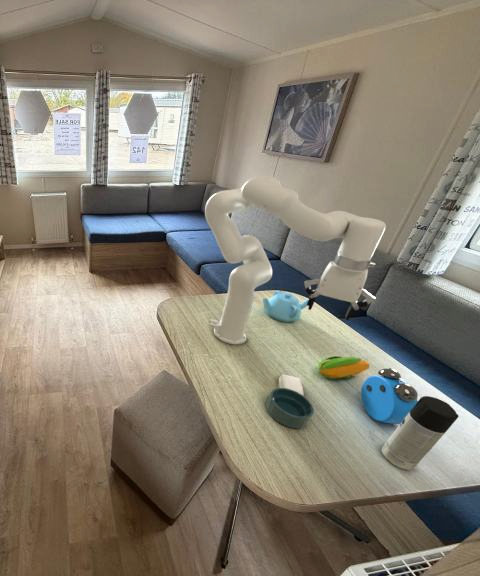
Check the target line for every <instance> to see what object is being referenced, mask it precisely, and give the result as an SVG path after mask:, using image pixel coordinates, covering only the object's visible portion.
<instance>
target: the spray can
mask: <svg viewBox="0 0 480 576" xmlns="http://www.w3.org/2000/svg"><path fill="white" fill-rule="evenodd" d="M417 401H418V402H417V403H416V404H415V406H414V407H413V408H412V409H411V410H410V412H409V413H408V415H407V416H406V417H405V418H404V420H403V421H402V422H401V424H398V426H397V427H396V429H395V430H394V432H393V433H392V434H391V436H390V437H389V438H388V440H387V441H386V442H385V443H384V444H383V446H382V448H381V454H382V455H383V457H384V458H385V460H386V461H388V462H389V463H390V464H392V465H393V466H395V467H397V468H399V469H401V470H406V471H411V470H413V469H414V468H416V466H417V465H419V464H420V462H421V461H422V460H423V459H424V458H425V457H426V455H427V454H428V453H429V452H430V451H431V450H432V449H433V447H434V446H435V445H437V443H438V442H439V440H440V439H441V438H442V437H443V436H444V435H445V434H446V433H447V431H448V430H450V428H451V427H452V426H453V424H454V423H455V422H456V421H457V419H458V418H459V414H458V413H457V412H456V410H455V409H454V408H453V407H452V406H451V405H450V404H449V403H447V402H446V401H444V400H442V399H439V398H437V397H434V396H428V395H424V396H422V397H420V398H419V399H418V400H417Z"/></svg>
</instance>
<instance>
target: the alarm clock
mask: <svg viewBox="0 0 480 576" xmlns="http://www.w3.org/2000/svg"><path fill="white" fill-rule="evenodd" d="M360 391H361V392H360V395H361V396H360V397H361V402H362V405H363V408H364V410H365V412H366V413H367V414H368V416H370V418H372V419H373V420H375V421H377V422H380V423H387V424H391V426H394V425H400V424H401V422H402V421H403V420H404V418H405V417H406V416H407V415H408V413H409V412H410V410H411V409H412V408H413V407H414V406H415V404H416V403H417V402H418V401H419V400H418V397H419V395H418V391H417V389H415V387H414V386H412V385H411V384H409V383H408V382H407V381H405V380H404V379H402V375H401V374H400V373H399V372H398V371H397V370H395V369H392V368H391V367H389V368H381V369H379V371H377V374H375V375H370V376H369V377H367V378H366V379H365V380H364V381H363V383H362V386H361V389H360Z"/></svg>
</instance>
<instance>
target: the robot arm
mask: <svg viewBox="0 0 480 576" xmlns="http://www.w3.org/2000/svg"><path fill="white" fill-rule="evenodd" d="M254 207H257V208H260V209H262V210H264V211H266V212H268V213H269V214H272V215H273V216H275V217H277V218H279V219H280V221H281V222H282V223H283V224H284V225H285V226H286V227H287V228H289V229H291V230H292V231H294V232H296V233H298V234H299V235H301V236H303V237H306V238H308V239H310V240H313V241H317V242H328V241H332V240H334V239H338V238H339V239H340V238H342V241H341V244H340V245H339V248H338V250H337V253H336V255H335V257H334V260H331V261H329V263H328V264H327V266H326V267H325V269H324V271H323V273H322V275H321V276H320V278H315V279H314V278H313V279H308V280H305V281H304V282H303V284H304V289H305V292H306V293H307V295H308V296H309V298H308V303H307V306H306V307H307V310H309V311H311V310H312V309H313V306H314V304H315V302H316V298H317V297H319V296H323V297H328V298H331V299H335V300H339V301H344V302H347V303H350V305H349V306H348V308H347V310H346V313H345V315H344V316H345V317H344V318H345V320H346V321H349V320H350V318H353V317H354V315H355V313H356V312H357V311H358V310H360V309H361V308H365V307H368V305H371V304H372V303H374V302H375V301H376V297H375V296H374V295H372V294H371V293H370V292H368V291H367V290H366V289H364V287H365V284H366V281H367V278H368V273H369V269H368V268H375V267H376V262H373V261H372V257H373V256H374V253H375V251H376V249H377V247H378V246H379V243H380V241H381V239H382V236H383V235H384V232H385V230H386V227H387V225H386V223H385V221H383V220H380V219H377V218H372V217H363V216H359V215H356V214H353V213H350V212H348V211H344V210H334V211H330V212H325V213H323V212H320V211H318V210H316V209H313V208H311V207H309V206H307V205H305V204H303V202H301V201H300V198H299V194H298V192H297V191H295V190H292V189H291V188H287V187H286V186H283V185H282V183H281V181H280V180H279V179H278V178H277V177H275V176H272V175H267V176H266V175H264V176H256V177H252V178H250V179H248V180H247V181H245V183H243V185H242V187H240V188H235V189H227V190H222V191H218V192H216V193H214V194H212V195H211V196H210V197H209V198H208V200H207V201H206V204H205V208H204V217H205V220H206V222H207V225H208V227H209V228H210V230H211V232H212V234H213V236H214V239H215V241H216V243H217V245H218V248H219V249H220V253H221V255H222V257H223V259H224V260H225V261H226V263H228V264H238V263H241V262H242V263H243V264H241V265H239V266H237V267H235V268H234V269H233V270H232V271H231V272H230V274H229V277H228V289H227V294H226V297H225V302H224V306H223V310H222V314H221V318H220V320H215V319H214V318H213V319H212V318H209V320H208V324H210V325H209V327H212V328H213V334H214V336H215V337H216V338H217V339H218V340H220V341H221V342H224V343H225V344H229V345H242V344H244V343H245V342H246V341H247V338H248V337H247V334H246V333H245V330H246V327H247V323H248V321H249V317H250V315H251V310H252V307H253V305H254V299H255V289H256V288H257V287H259V286H262V285H264V284H266V283H268V282H269V281H270V280H271V279H272V277H273V268H272V265H271V262H270V261H269V258H268V256H267V253H266V251H265V250H264V247H263V245H262V243H261V241H260V240H259V239H258V238H257V237H256V236H254V235H252V234H244V235H242V234H241V231H239V229H238V226H237V224H236V222H235V221H234V220H233V219H232V218H231V217H230V216H229V214H233V213H238V212H243V211H245V210H249V209H251V208H254ZM313 285H314V286H315V285H317V286H316V289H312V287H311V286H313ZM361 296H363V297H364V298H365V299H364V300H363V299H362V300H361V301H358V300H359V298H360V297H361Z"/></svg>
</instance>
